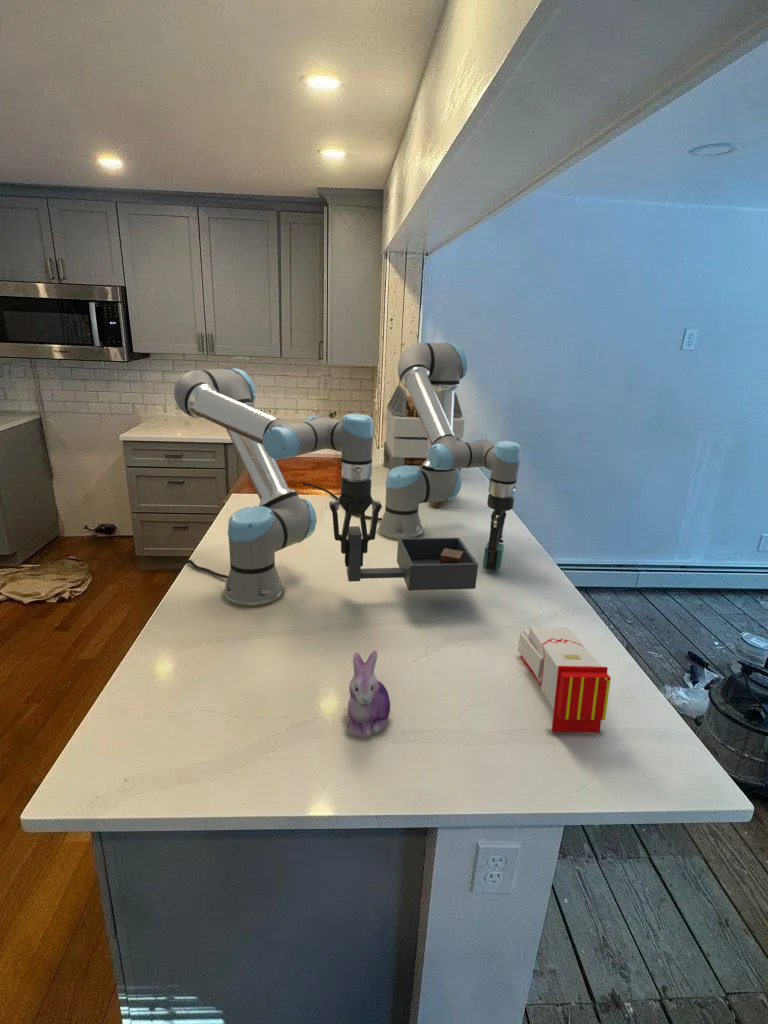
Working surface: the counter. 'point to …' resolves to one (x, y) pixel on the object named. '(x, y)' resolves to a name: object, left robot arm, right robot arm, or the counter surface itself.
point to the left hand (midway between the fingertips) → (353, 563)
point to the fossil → (438, 503)
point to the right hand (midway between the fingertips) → (492, 565)
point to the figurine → (367, 699)
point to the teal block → (499, 557)
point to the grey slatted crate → (410, 431)
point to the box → (417, 563)
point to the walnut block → (451, 556)
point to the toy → (566, 678)
